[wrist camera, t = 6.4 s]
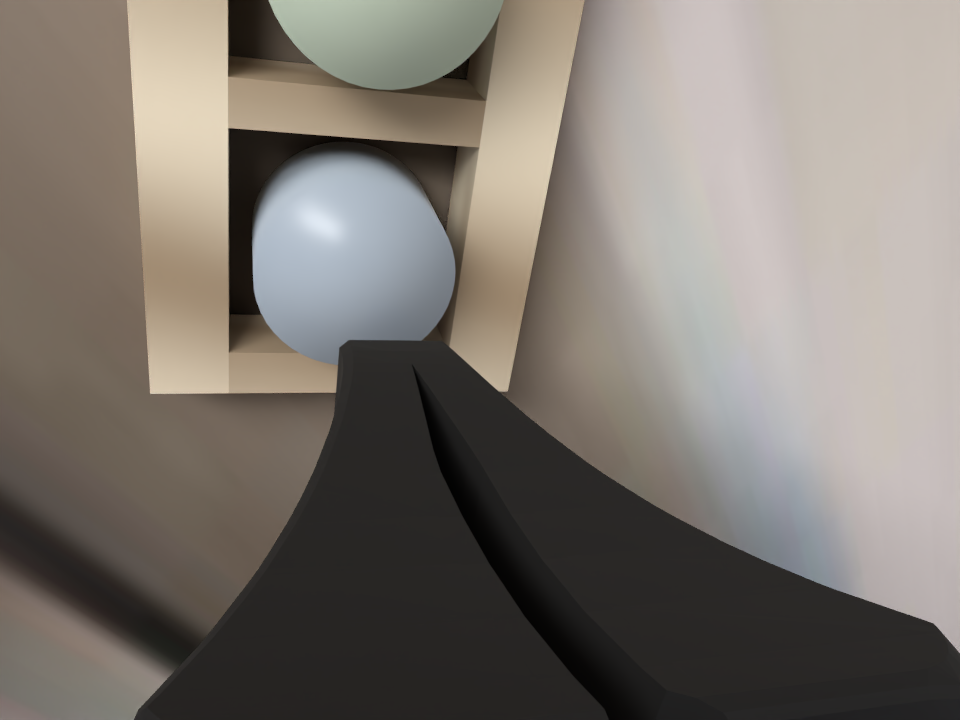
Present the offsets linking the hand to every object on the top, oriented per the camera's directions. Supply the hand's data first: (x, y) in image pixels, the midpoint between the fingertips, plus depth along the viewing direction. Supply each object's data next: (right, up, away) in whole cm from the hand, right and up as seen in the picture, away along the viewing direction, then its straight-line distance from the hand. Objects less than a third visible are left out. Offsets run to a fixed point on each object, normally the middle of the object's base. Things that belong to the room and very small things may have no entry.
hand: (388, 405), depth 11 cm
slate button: (-2, +4, +6) cm, 7 cm away
